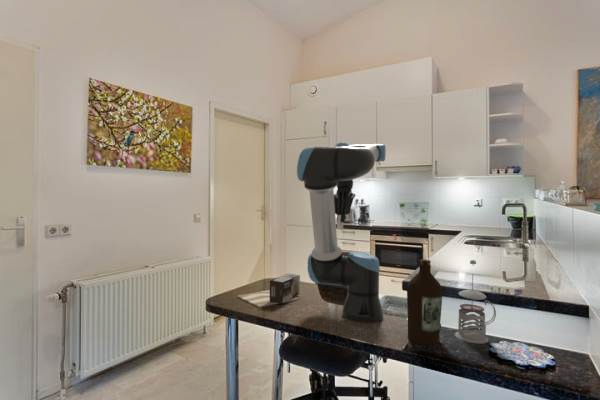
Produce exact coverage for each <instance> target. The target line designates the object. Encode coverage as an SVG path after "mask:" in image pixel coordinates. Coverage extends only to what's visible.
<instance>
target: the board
mask: <svg viewBox="0 0 600 400" xmlns="http://www.w3.org/2000/svg"><path fill="white" fill-rule="evenodd" d="M236 297H237V298H239V299H241V300H243V301H244V302H246V303H248V304H251V305H253V306H255V307H256V308H264V307H265V308H266V307H269V306H274V305H279V304H281V303H276V302H270V289H269V290H262V291H257V292H250V293H246V294H240V295H237V296H236ZM299 299H300V298H299V297H297V296H295V297H293V298H292V299H290V300H288V301H286V302H285V303H289V302H293V301H298V300H299Z"/></svg>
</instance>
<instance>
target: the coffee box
mask: <svg viewBox="0 0 600 400" xmlns="http://www.w3.org/2000/svg"><path fill="white" fill-rule="evenodd" d="M300 282H301V275H300V274H297V273H285V274H283V275H281V276H278V277H276V278H273V279H270V280H269V290H270V302H276V303H280V304H284V303H287V302H286V301H288V300H290V299H292V298H293V297H297V296H299V295H300V288H301V286H300Z"/></svg>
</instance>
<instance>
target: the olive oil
mask: <svg viewBox="0 0 600 400" xmlns="http://www.w3.org/2000/svg"><path fill="white" fill-rule="evenodd" d="M418 266H419V267H418V268H419V270H418V273H416V274H415V275H414V276H413V277H412V278H411V279H410V280H409V281H408V284H407V288H406V301H407V302H406V303H407V304H406V305H407V306H406V307H407V308H406V309H407V338H408V339H409V340H410V341H412V342H414V343H416V344H419V345H423V346H424V345H425V346H433V345H438V344H439V342H440V338H441V337H440V335H441V332H440V331H441V329H442V324H441V323H442V322H441V321H442V320H441V319H442V318H441V316H442V307H443V288H442V285H441V283H440V282H439V280H438V279H437V278H436V277H435V276H434V275H433V274H432V272H431V269H432V265H431V259H419V265H418Z"/></svg>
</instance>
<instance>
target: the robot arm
mask: <svg viewBox="0 0 600 400" xmlns="http://www.w3.org/2000/svg"><path fill="white" fill-rule="evenodd" d="M386 151H387V150H386V145H385V144H382V143H374V144H373V143H372V144H370V143H368V144H348V143H346V142H344V141H341V142H338V143H337V144H336V145H335V146H312V147H305V148H304V149H302V150H301V152H300V154H299V156H298V160H297V165H296V176H297V178H298V180H299V181H300V182H303V183H304V185H303V186H304V188H305V189H306V190H307V191H309V192H308V193H309V201H310V210H311V212H310V213H311V222H312V232H313V233H312V234H313V240H314V241H313V242H314V248H313V249H312V250H311V253H310V254H309V255H308V258H307V272H308V276H309V279H310V281H312V282H314V284H320V285H330V286H339V287H341V286H342V287H347V295H346V297H345V300H344V304H343V307H342V312H341V313H342V316H343V318H346V319H347V320H351V321H352V322H353V321H354V322H359V323H375V322H379V321H381V320H383V318H384V309H383V308H382V304H381V299H380V292H379V291H380V271H381V269H380V260H379V258H378V257H377V256H375V255H372V254H369V253H366V252H359V251H349V252H348V254H345V255H344V254H343V252H342V251H343V250H342V249H341V248H340V246H338V238H337V237H338V235H337V230H340V231H341V230H342V231H343V230H344V223H345V221H346V216H347V215H349V214H350V212H351V210H352V209H351V208H352V205H353V201H354V199H355V197H356V193H353V192H352V189H353V185H354V180H355V179H358V178H360V177H363V176H365V175H367V174H369V173H370V172H371V171H372V169H374V168H373V167H374V165H375V162H378V163H379V162H385V161H386V153H387V152H386ZM336 187H337V190H336V193H334V189H336ZM336 215H337V217H336Z"/></svg>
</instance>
